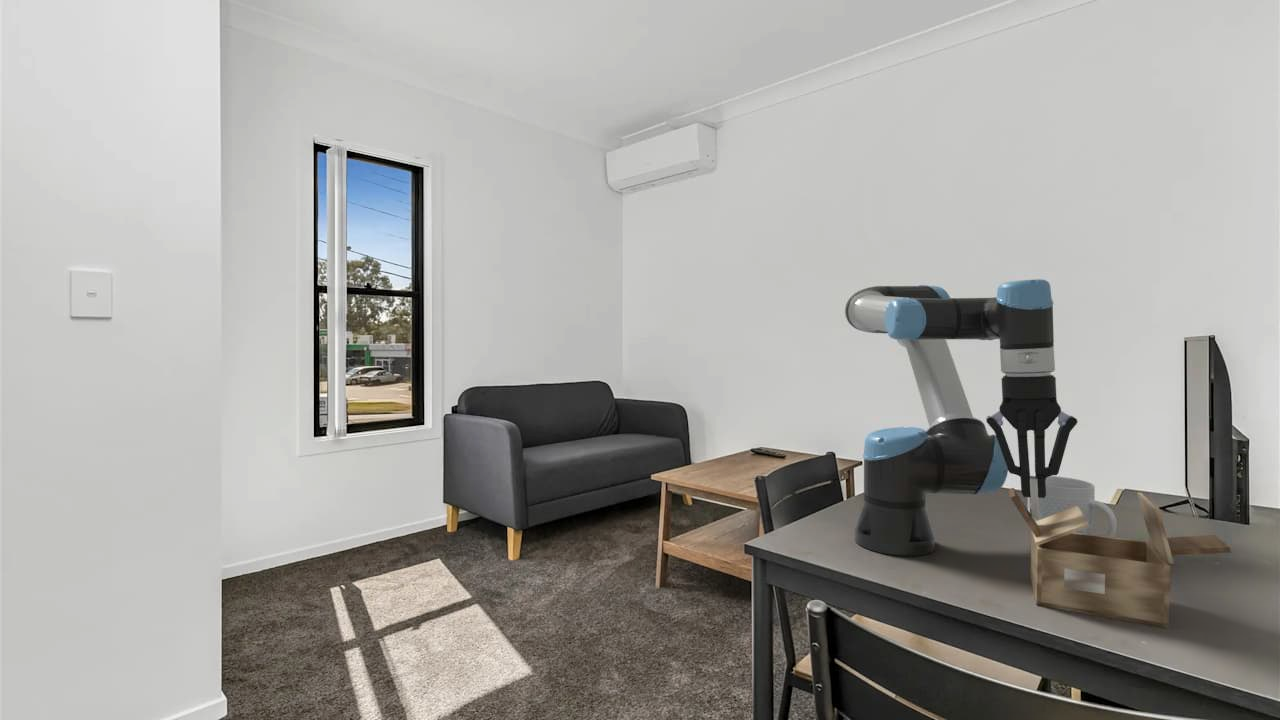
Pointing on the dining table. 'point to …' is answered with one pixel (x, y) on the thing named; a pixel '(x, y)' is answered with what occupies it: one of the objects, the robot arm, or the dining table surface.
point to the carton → (1102, 578)
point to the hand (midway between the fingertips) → (1034, 516)
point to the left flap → (1051, 521)
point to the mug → (1072, 501)
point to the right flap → (1176, 544)
